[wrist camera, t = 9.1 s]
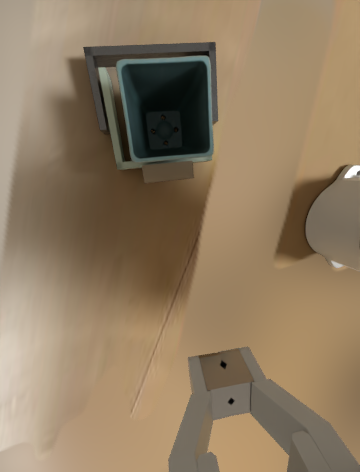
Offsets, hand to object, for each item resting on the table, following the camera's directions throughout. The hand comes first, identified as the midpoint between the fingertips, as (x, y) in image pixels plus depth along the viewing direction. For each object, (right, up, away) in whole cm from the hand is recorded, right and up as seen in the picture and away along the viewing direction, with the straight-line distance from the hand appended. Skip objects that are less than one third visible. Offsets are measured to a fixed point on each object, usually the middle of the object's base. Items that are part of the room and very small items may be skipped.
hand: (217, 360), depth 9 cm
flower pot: (-4, +21, +18) cm, 28 cm away
